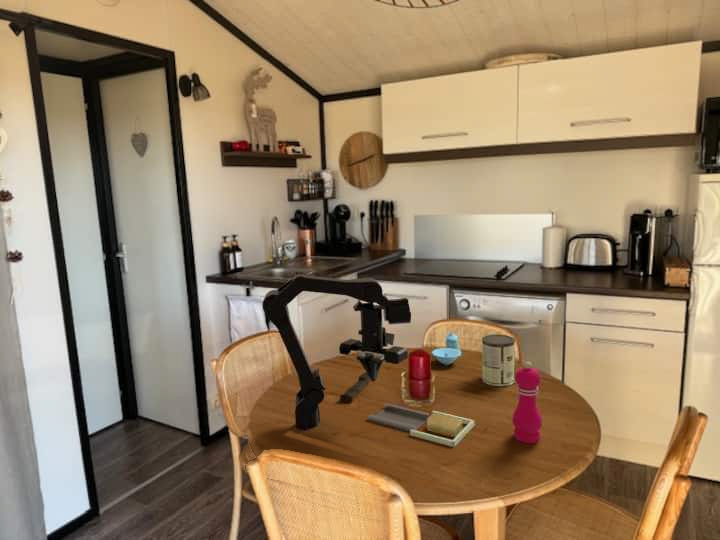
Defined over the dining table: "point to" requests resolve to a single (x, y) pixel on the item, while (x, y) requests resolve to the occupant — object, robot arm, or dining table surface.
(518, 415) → the pepper mill
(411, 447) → the dining table surface
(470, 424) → the tray
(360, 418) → the dining table surface
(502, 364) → the coffee can
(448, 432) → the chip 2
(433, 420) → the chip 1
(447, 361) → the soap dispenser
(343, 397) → the wooden stick
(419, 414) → the slot rail
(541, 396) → the dining table surface
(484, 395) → the dining table surface
